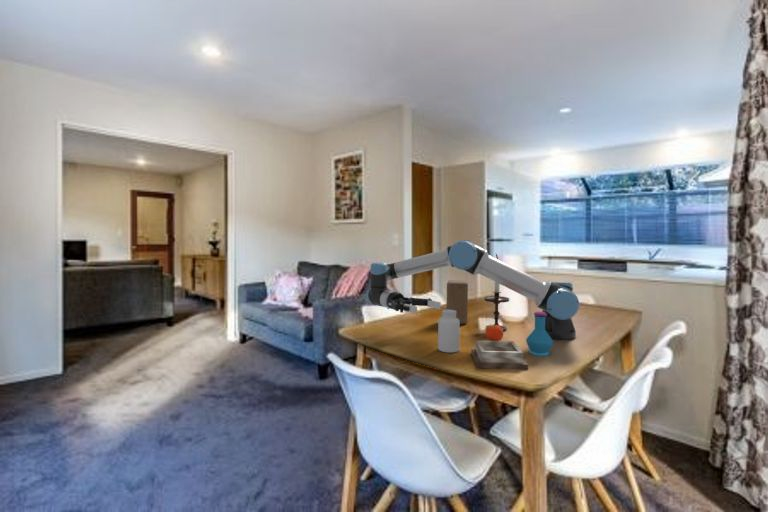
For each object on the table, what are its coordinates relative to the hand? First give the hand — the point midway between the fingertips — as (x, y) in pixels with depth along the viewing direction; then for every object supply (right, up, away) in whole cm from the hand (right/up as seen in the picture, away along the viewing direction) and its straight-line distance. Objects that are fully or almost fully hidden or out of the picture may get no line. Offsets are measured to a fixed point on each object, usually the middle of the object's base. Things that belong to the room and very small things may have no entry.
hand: (428, 307), depth 155 cm
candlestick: (+34, -13, +24) cm, 43 cm away
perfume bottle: (+40, -15, -10) cm, 44 cm away
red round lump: (+27, -15, +5) cm, 31 cm away
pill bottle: (+7, -15, -7) cm, 18 cm away
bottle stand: (+22, -16, -19) cm, 33 cm away
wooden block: (+19, -12, +40) cm, 45 cm away
